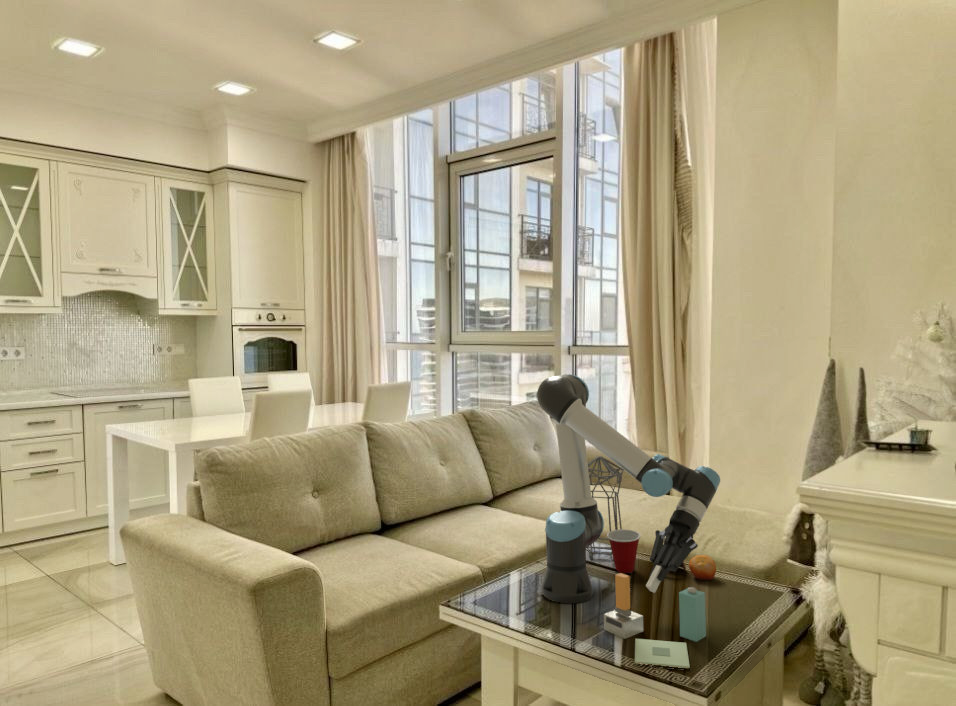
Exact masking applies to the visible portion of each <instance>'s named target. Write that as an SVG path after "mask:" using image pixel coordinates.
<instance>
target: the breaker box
mask: <svg viewBox="0 0 956 706" xmlns="http://www.w3.org/2000/svg"><path fill="white" fill-rule="evenodd" d="M630 611H631V616H630V617H628V616H625V615H623V614H621V613H618V612H616V611H615V609H614V610H612V611H608V612H605V613H603V630H604V631H606V632H608V633H611V634H613V635H615V636H617V637H619V638H622V639H624V640H626V639H628V638H630V637H633V636H635V635H638V634H640V633H643V632H644V615H642V614H640V613H637V612H635V611H632V610H630Z"/></svg>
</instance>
